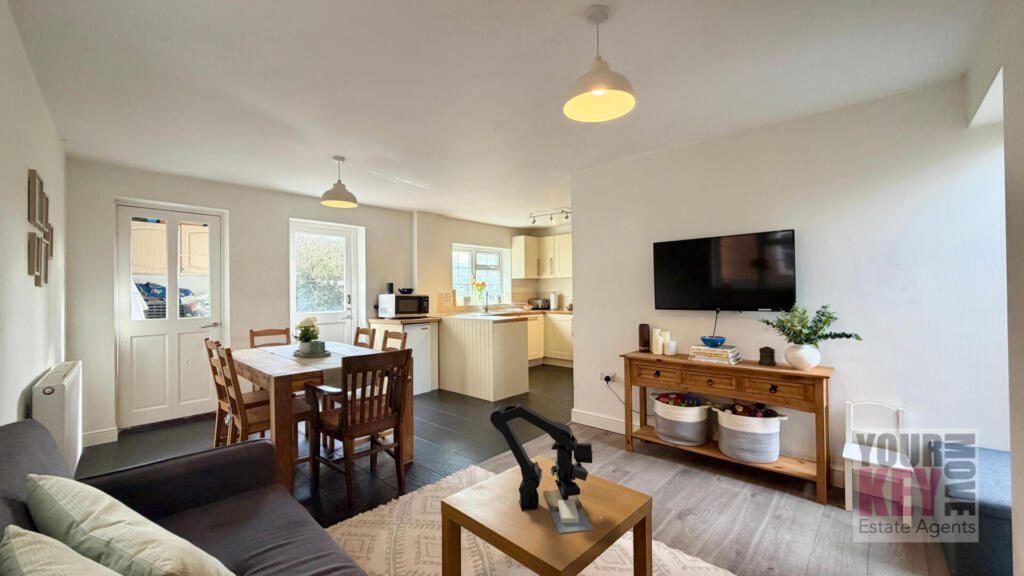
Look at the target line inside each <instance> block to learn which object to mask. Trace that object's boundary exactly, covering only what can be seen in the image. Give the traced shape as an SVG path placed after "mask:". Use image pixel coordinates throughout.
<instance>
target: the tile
mask: <svg viewBox="0 0 1024 576" xmlns="http://www.w3.org/2000/svg"><path fill="white" fill-rule="evenodd" d="M558 508H559V513H560V518H561V523H579V517H578V513H577V509H576V505H575V501H574V500H558Z"/></svg>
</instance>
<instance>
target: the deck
mask: <svg viewBox="0 0 1024 576" xmlns="http://www.w3.org/2000/svg"><path fill="white" fill-rule="evenodd" d="M542 495H543V496H542V497H543V498H544V501H545V503H546V505H547V508H548V511H549V512H553V511H559V508H558V500H563V499H562V497H561V494H560V492H559V489H558V488H557V489H549V490H543V491H542ZM568 500H574V501H575V505H576V509H583V505H582V502H581V500H580V499H579V497H578V495H574V496H569V497H568Z"/></svg>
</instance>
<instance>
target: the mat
mask: <svg viewBox="0 0 1024 576" xmlns="http://www.w3.org/2000/svg"><path fill="white" fill-rule="evenodd" d="M549 512H550V511H549ZM577 513H578V517H579V523H561V518H560V513H559V511H553V512H550V513H549V514H550V516H551V517H552V520H553V522H554V525H555V527H556V529H557V532H558V534H559V535H560V534H569V533H579V532H580V533H581V532H586V531H588V532H589V531H594V527H593V525H592V524H591V522H590V520H589V518H588V516H587V515H586V513H585V511H584V510H583V508H582V509H577Z"/></svg>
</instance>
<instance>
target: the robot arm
mask: <svg viewBox="0 0 1024 576" xmlns="http://www.w3.org/2000/svg"><path fill="white" fill-rule="evenodd" d="M518 418H521V419H522V420H524V421H526V422H527V423H529V424H530V425H533V426H534V427H536V428H538V429H540V430H542V431H543V432H545V433H547V434H548V435H549V437H551V439H552V440H553V441H554V443H552V444H551V450H554V451H556V461H555V465H552V467H551V468H550V474H551V476H552V477H554V476H556V479H555V480H554V482H555V485H556V487H557V490H558V489H559V492H560V494H561V497H562V499H563V500H568V497H569V496H574V495H577V496H579V495H581V487H580V486H579V485H578V483H577V482H576V479H578V480H581V481H583V482H586V481H587V478H588V474H589V472H588V470H587V469H586V468H585V467H584V466H582V463H583V464H593V449H592V448H593V447H592V446H593V445H592V443H591V442H590V443H589V442H588V443H583V442H582V443H580V442H578V439H577V438H576V436H575V435H574V434H573V430H572V427H570V426H569V425H568V424H565V423H563V422H557V421H553V420H550V419H548V418H547V417H546V416H544V415H542V414H540V413H538V412H536V411H534V410H533V409H531V408H529V407H528V406H526V405H525V404H523V403H518V404H513V405H507V406H502V405H501V406H500V405H499V406H497V407H496V408H495V409H494V410H493V411H492V413H491V414H490V418H489V419H490V423H491V424H492V425H493V427H494V428H495V429H496V430H497V431H498V432H499V433H501V435H502V436H503V438H504V440H505V442H506V443H507V445H508V448H509V449H510V452H511V453H512V455H513V456H514V457H513V458H515V460H516V462H517V463H518V466H519V468H520V472H521V473H520V474H521V477H522V480H521V482H520V484H519V487H518V491H519V500H518V504H519V507H520V510H521V511H532V510H539V505H540V497H539V491H538V488H539V487H540V483H541V480H542V477H543V475H542V474H543V473H542V472H543V469H542V468H541V467H540V465H539V462H538V461H535V462H533V461H532V460H531V459H530V457H529V455H528V454H527V452H526V450H525V448H524V446H523V444H522V442H521V440H520V439H519V437H518V435H517V432H516V431H515V430H514V428H513V425H512V421H513V420H514V419H518ZM573 460H574V461H575V462H574V463H573Z"/></svg>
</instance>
